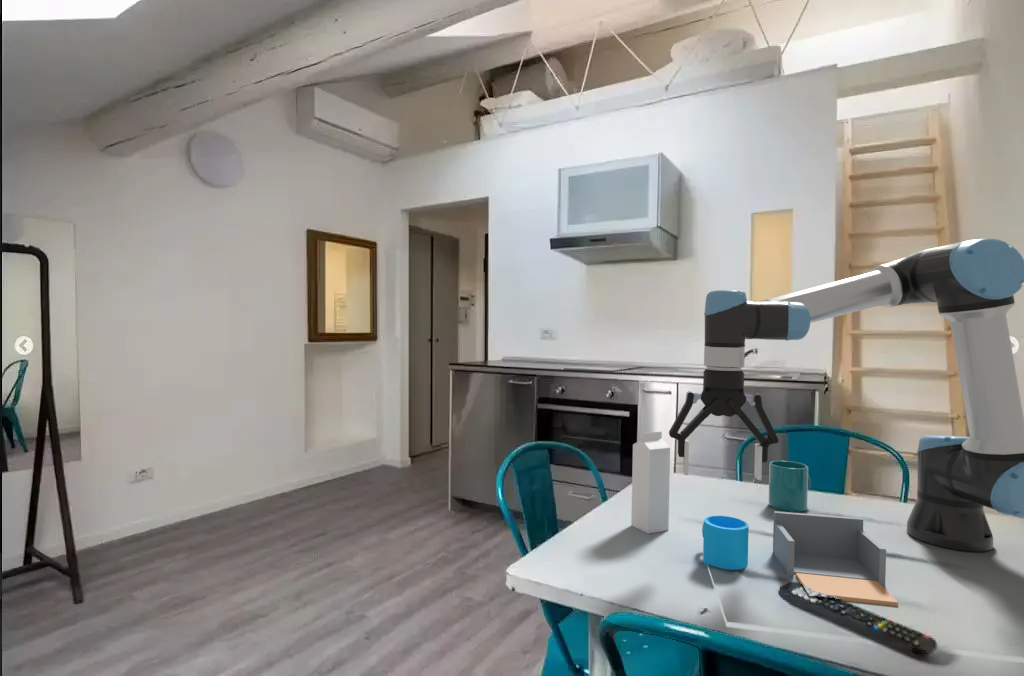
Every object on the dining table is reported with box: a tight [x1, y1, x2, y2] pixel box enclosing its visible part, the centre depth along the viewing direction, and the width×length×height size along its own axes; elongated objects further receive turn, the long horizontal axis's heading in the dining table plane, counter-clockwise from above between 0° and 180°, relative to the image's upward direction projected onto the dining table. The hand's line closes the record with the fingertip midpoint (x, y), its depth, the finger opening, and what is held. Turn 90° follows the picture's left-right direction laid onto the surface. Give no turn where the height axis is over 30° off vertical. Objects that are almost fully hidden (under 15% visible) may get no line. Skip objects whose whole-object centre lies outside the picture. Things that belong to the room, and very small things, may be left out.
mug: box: [701, 514, 750, 571], centre depth 110 cm, size 12×8×8 cm
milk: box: [630, 431, 671, 534], centre depth 127 cm, size 6×6×22 cm
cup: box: [768, 460, 812, 513], centre depth 145 cm, size 9×12×11 cm
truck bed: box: [772, 510, 887, 586], centre depth 106 cm, size 16×11×9 cm
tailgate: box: [795, 573, 899, 607], centre depth 96 cm, size 13×1×8 cm
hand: (721, 476), depth 110 cm, fingers open, 13 cm apart
